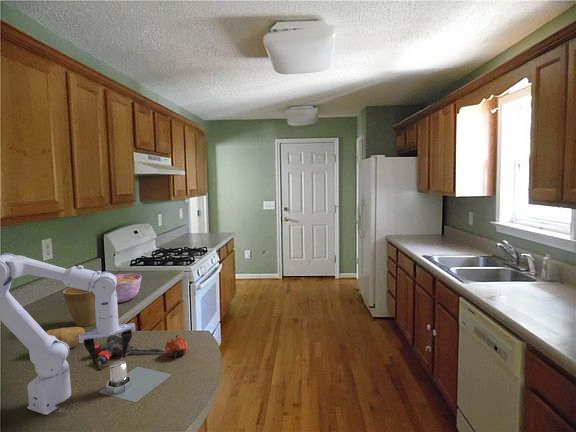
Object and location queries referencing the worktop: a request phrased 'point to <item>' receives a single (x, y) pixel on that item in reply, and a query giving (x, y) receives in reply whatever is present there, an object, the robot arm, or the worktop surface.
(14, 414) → the worktop surface
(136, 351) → the valve
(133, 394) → the mounting plate
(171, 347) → the pomegranate
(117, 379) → the duct pipe
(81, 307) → the plant pot
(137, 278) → the bowl of food
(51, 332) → the potato
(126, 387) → the collar
